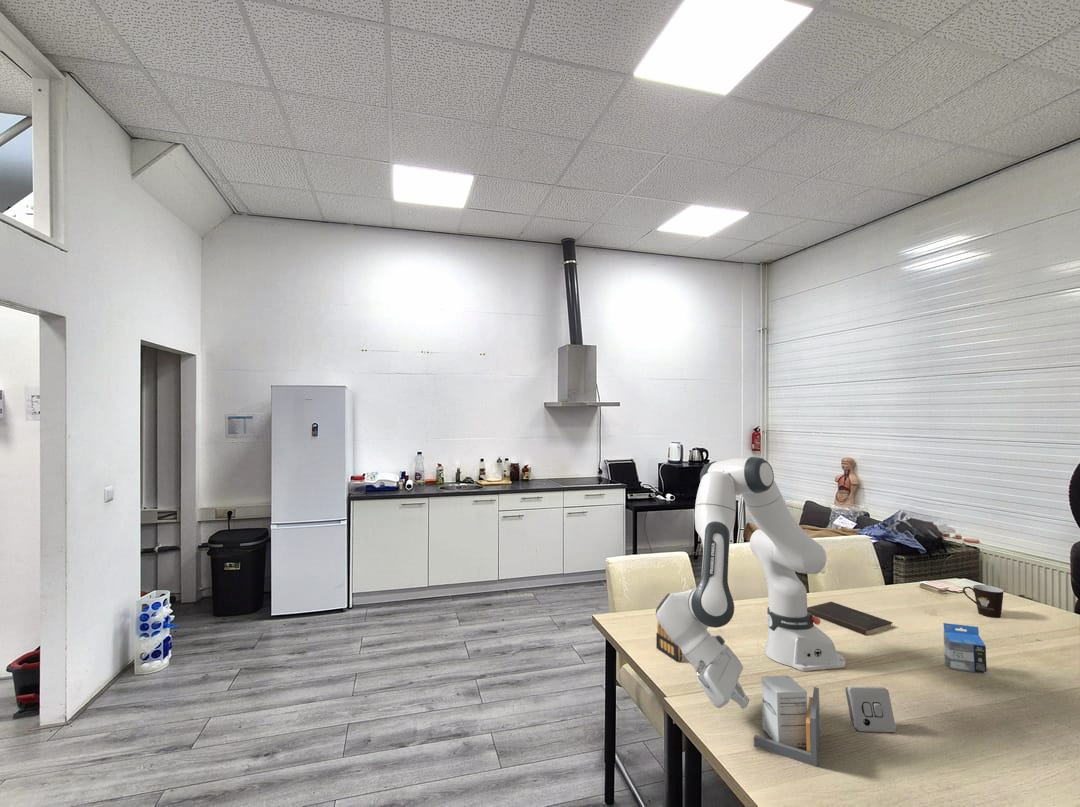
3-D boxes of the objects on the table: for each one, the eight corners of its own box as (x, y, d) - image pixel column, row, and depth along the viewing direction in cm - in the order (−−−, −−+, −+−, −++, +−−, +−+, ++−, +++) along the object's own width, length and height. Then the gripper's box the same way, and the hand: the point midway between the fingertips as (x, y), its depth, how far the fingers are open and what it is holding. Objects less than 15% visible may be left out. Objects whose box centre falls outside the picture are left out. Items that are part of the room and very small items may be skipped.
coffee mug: (1011, 619, 179) (1010, 592, 179) (988, 619, 179) (987, 592, 179) (983, 607, 190) (982, 582, 191) (961, 607, 191) (960, 582, 191)
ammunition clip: (682, 661, 149) (681, 622, 150) (677, 662, 148) (676, 623, 149) (660, 646, 159) (660, 610, 160) (656, 648, 158) (655, 611, 159)
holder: (754, 746, 109) (753, 701, 110) (763, 713, 122) (762, 673, 122) (816, 766, 103) (815, 719, 103) (820, 730, 115) (818, 688, 115)
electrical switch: (856, 732, 114) (853, 690, 115) (844, 721, 119) (841, 681, 121) (897, 733, 114) (893, 692, 115) (883, 722, 119) (879, 682, 120)
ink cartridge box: (950, 669, 143) (948, 627, 143) (944, 663, 146) (942, 622, 147) (987, 674, 140) (985, 631, 140) (980, 668, 143) (978, 626, 144)
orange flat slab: (806, 755, 105) (805, 722, 105) (810, 726, 115) (809, 696, 115) (811, 756, 104) (809, 723, 105) (814, 727, 114) (813, 697, 115)
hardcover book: (831, 607, 194) (831, 601, 194) (892, 628, 173) (892, 622, 173) (804, 613, 187) (804, 607, 187) (865, 637, 166) (865, 630, 166)
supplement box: (761, 728, 116) (760, 675, 116) (791, 727, 116) (789, 674, 117) (778, 749, 108) (776, 692, 109) (809, 747, 109) (807, 691, 109)
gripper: (703, 664, 113) (748, 720, 107) (722, 633, 130) (762, 679, 125) (684, 678, 115) (728, 734, 110) (705, 645, 132) (744, 692, 127)
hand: (746, 704), depth 117 cm, fingers closed
